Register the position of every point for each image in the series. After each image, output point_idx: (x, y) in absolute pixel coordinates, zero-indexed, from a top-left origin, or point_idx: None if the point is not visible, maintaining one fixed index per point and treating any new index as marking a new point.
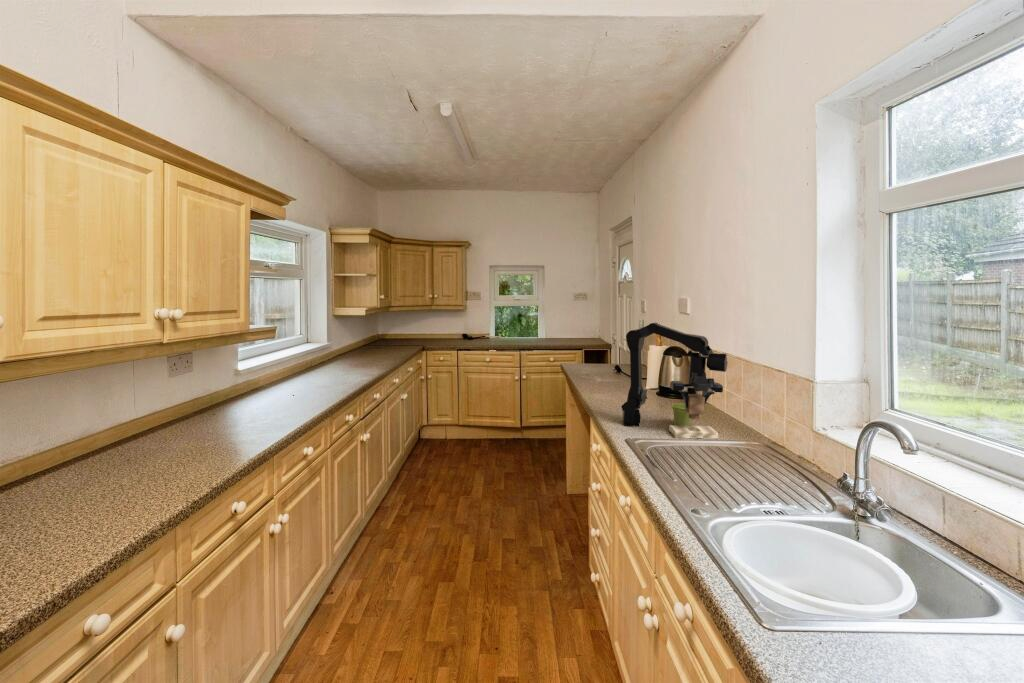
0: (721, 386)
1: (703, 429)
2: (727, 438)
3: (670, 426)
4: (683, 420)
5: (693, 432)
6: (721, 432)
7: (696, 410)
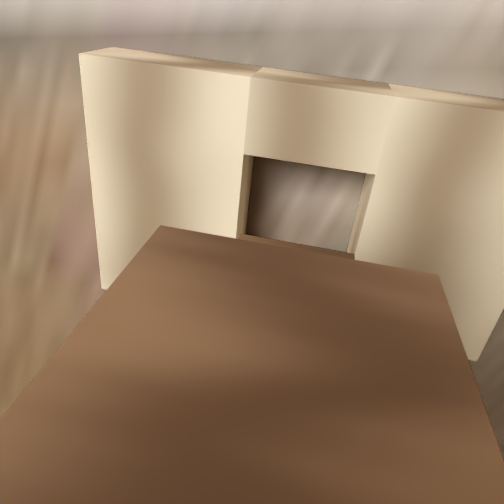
0: None
1: (195, 205)
2: (16, 99)
3: (491, 327)
4: None
5: (363, 95)
6: (36, 255)
7: (291, 288)
